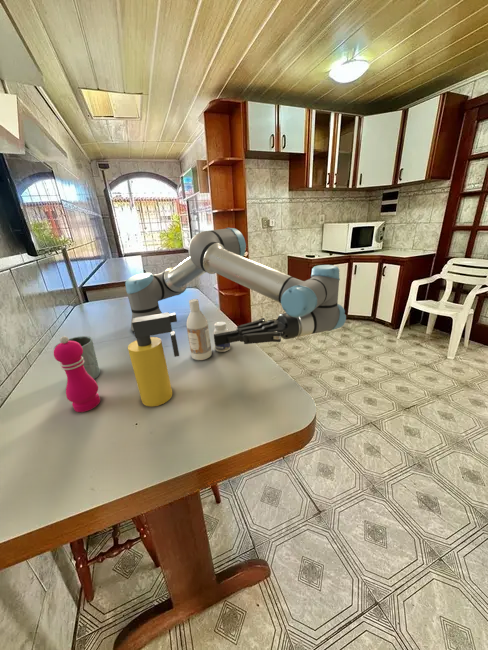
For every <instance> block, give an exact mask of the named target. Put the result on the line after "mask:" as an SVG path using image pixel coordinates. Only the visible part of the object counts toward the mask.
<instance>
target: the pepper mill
mask: <svg viewBox="0 0 488 650" xmlns="http://www.w3.org/2000/svg"><path fill="white" fill-rule="evenodd" d="M69 339H70V338H69V337H68V336H65V335H63V336H61V337H60V338H59V343H60V342H61V343H60V344H59V343H57V344H58V345H57V344H56V345H57V346H56V345H55V346H56V347H55V346H54V347H55V349H54V348H53V357H54V359H55V360H56V361H57V362H58V363H59V365H60V367H61V370H63V371H64V370H65V371H64V373H65V376H66V379H67V381H66V382H67V383H66V387H65V395H66V399H67V400H68V401H69V402H71V403H72V404H71V405H72V409H73V410H74V412H77V413H85V412H88V411H91V410H93V409H95V408H96V407H97V406H98V405H99V404H100V402H101V397H100V395H99V393H98V391H99V385H98V382H97V381H96V379H93V378H92V377H91V376H90V375H89V374H88V373H87V372H86V370H85V368H84V365H83V364H84V360H83V357H82V356H81V355H82V353H83V348H82V346H81V345H80V344H79V343H78V342H76V341H69ZM60 362H61V363H60Z"/></svg>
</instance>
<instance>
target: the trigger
mask: <svg viewBox="0 0 488 650" xmlns="http://www.w3.org/2000/svg"><path fill="white" fill-rule="evenodd" d="M169 334H170V341H171V345H172V346H171V347H172V351H173V357H175V358H176V357H180V352H179V347H178V341H177V336H176V331H175V330H172V332H169Z"/></svg>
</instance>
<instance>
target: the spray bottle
mask: <svg viewBox="0 0 488 650" xmlns="http://www.w3.org/2000/svg"><path fill="white" fill-rule="evenodd" d="M131 320H132V319H131ZM177 322H178V318H177V314H176V312H171V313H169V312H168V311H167V312H162V313H161V314H155V315H148V316H142V317H136V318H133V320H132V326H133V330H134V332H133V333H134V334H133V335H134V337H135V339H136V340H134V341H132V342H130V343H129V344H128V345H127V350H128V354H129V355H128V356H129V358H130V362H131V366H132V369H133V373H134V376H135V381H136V384H137V388H138V392H139V397H140V400H141V403H142V404H143V406H146V407H158V406H161V405H164V404H165V403H167V402H168V401H169V400H171V398H172V397H173V389H172V384H171V380H170V379H171V378H170V375H169V370H168V365H167V360H166V355H165V351H164V346H163V342H162V339H161V338H160V337H156V335H162V334H167V333H168V334H170V332H172V331H173V328H172V323H177Z"/></svg>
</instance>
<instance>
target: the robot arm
mask: <svg viewBox="0 0 488 650" xmlns="http://www.w3.org/2000/svg"><path fill="white" fill-rule="evenodd" d="M246 248H247V243H246V240H245V236H244V235H243V233H242V232H241V231H240V230H238V229H237V228H235V227H226V228H220V229H212V230H203V231H200V232H198V233H196V234H195V235H194V236H193V237H192V238H191V240H190V242H189V244H188V256H189V257H187V258H186V259H184V260H183V261H182V262H180V263H179V264H178V265H176V266H169V267H168V268H166V269H165V270H163V271H162V272H160V273H156V274H152V273H151V272H143V273H138V274H135V275H133V276H131V277H128V278H127V279H126V281H125V282H124V284H125V292H126V294H127V299H128V303H129V306H130V310H131V319H130V320H131V321H130V329H131V332H132V333H134V330H133V326H132V320H133V318H136V317H142V316H148V315H155V314H161V313H163V312H162V311H161V309H160V304H159V302H160V301H163V300H166V299H169V298H172V297H176V296H180V295H181V294H183V293H184V292H186V290H187V288H188V284H190V283H192V282H193V281H194V280H196V279H197V278H199V277H201V276H202V275H204V274H206V273H207V274H210V275H214V274H217V275H219V276H222V277H224V278H226V279H228V280H230V281H232V282H235V283H236V284H238V285H240V286H243V287H245V288H247V289H249V290H252V291H254V292H256V293H258V294H260V295H261V296H264V297H266V298H269V299H271V300H273V301H274V302H277V303H279V304H281V309H282V310H283V311H284V312H283V313H280V314H279V315H278V316H277V318H276V319H270V320H266V319H265V318H264V317H261V318H259V319H257V320H254V321H251V322H246V323H244V324H240V325H237V326H236V329H235V330H229V332H224V333H219V334H214V333H213V341H214V346H215V345H216V346H217V345H222V344H227V343H230V344H232V343H236V342H240V343H243V344H244V345H252V344H261V343H263V344H264V343H280V342H282V339H283V340H291V339H296V338H301V337H305V336H309V335H314V334H318V333H324V332H331V331H333V330H337V329H341V328H342V327H343V326H344V325H345V323H346V320H347V315H346V314H345V313H346V310H345V308H344V307H343V305H341V304H339V301H338V300H339V288H340V281H341V278H340V268H339V267H338V266H337V265H333V264H319V265H315V266H313V267H312V268H311V274H310V278H308V279H306V280H302V279H298V278H297V277H293V276H291V275H289V274H286V273H284V272H281V271H279V270H277V269H275V268H272V267H269V266H267V265H264V264H262V263H260V262H258V261H257V262H256V261H255V260H252V259H249V258H247V257H244V256H245V254H246Z"/></svg>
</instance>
